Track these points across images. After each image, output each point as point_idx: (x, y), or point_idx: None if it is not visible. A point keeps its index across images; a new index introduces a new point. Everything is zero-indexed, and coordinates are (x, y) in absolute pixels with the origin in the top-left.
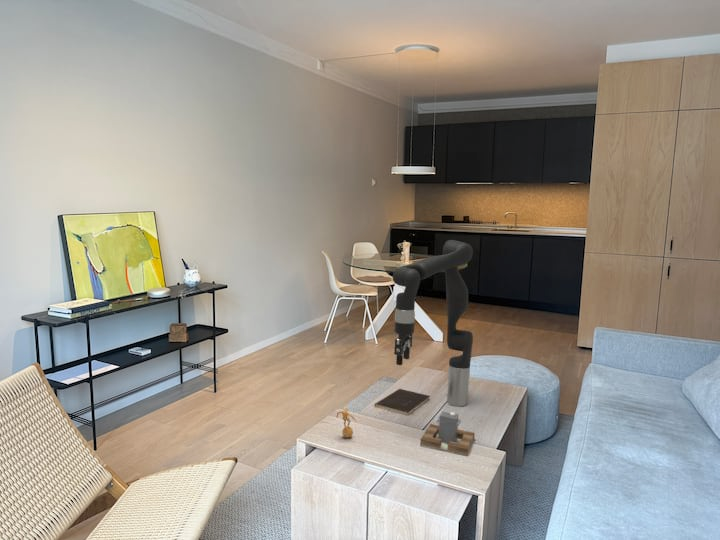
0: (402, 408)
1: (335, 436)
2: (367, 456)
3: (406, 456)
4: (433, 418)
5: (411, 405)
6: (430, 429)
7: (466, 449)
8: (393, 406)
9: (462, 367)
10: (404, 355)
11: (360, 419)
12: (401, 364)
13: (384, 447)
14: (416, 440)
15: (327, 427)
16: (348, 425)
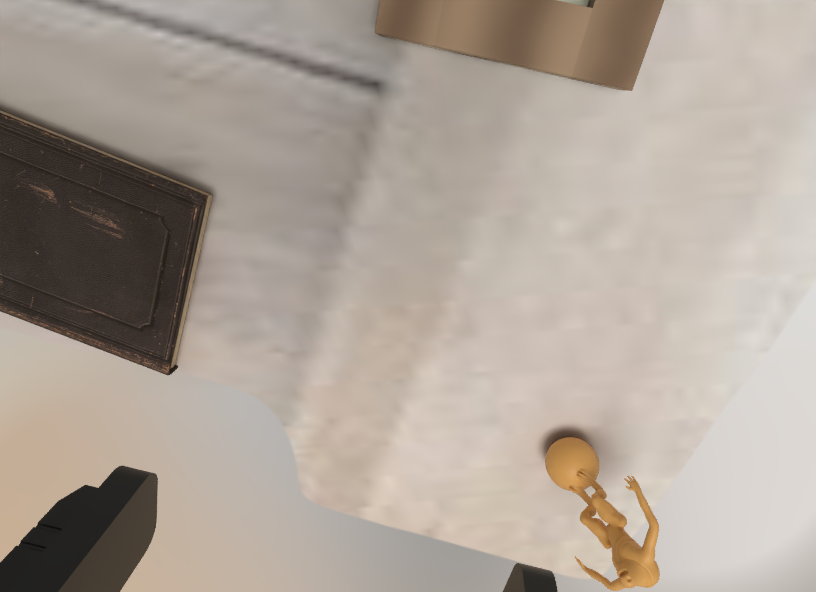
0: (172, 231)
1: None
2: (768, 349)
3: (764, 160)
4: (191, 24)
5: (102, 181)
6: (467, 29)
7: None
8: (167, 283)
9: None
10: (119, 577)
11: (355, 414)
12: (551, 581)
13: (660, 282)
14: (545, 116)
15: (482, 525)
16: (603, 490)
